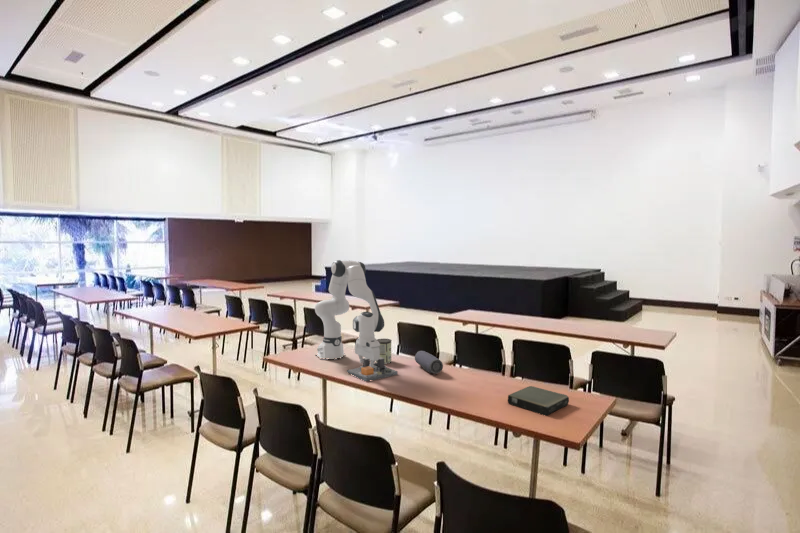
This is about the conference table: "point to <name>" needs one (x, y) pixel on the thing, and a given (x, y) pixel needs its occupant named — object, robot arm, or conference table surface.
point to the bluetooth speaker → (428, 362)
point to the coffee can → (385, 349)
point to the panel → (377, 373)
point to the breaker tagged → (366, 362)
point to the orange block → (367, 370)
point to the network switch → (538, 400)
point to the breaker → (380, 362)
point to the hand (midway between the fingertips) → (366, 364)
